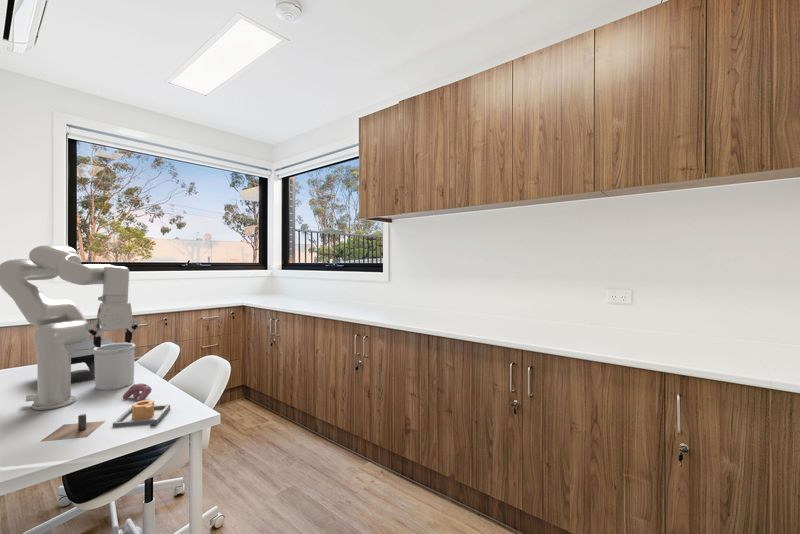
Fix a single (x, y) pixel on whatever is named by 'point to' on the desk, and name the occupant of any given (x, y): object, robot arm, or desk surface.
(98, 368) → the utensil holder
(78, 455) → the desk surface
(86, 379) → the portable electronic device stand
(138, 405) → the collar
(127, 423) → the tray
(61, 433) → the base
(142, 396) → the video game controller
